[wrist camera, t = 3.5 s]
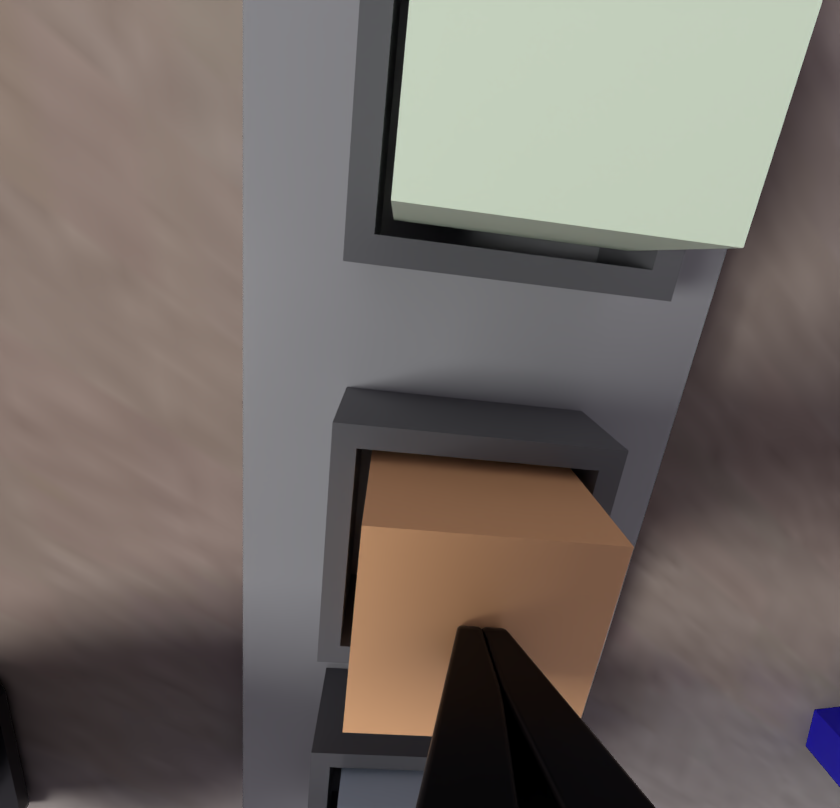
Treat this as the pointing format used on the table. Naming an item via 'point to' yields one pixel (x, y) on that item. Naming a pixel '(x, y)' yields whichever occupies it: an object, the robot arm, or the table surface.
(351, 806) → the blue grey button
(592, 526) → the terracotta button
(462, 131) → the sage button
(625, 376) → the button panel
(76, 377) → the table surface
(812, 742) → the cable holder
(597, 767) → the robot arm
